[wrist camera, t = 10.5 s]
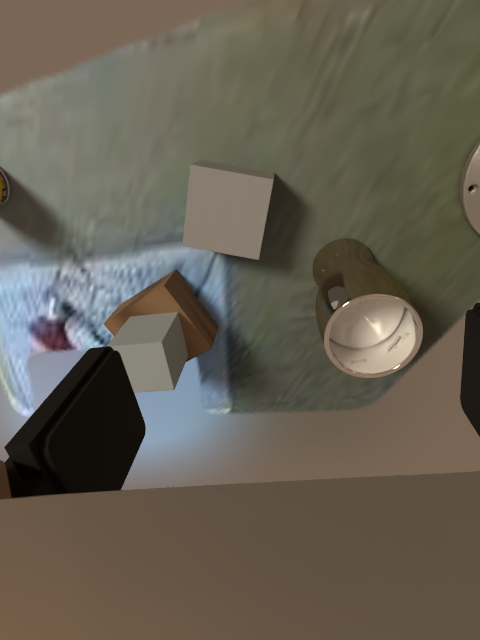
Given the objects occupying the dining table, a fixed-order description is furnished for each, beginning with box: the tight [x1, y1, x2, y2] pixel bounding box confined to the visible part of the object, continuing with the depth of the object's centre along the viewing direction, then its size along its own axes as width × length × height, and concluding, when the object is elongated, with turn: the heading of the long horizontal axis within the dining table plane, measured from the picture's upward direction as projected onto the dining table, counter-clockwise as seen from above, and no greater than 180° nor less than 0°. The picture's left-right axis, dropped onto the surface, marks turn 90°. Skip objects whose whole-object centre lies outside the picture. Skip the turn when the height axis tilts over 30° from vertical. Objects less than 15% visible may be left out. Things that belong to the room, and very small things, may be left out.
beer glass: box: [313, 239, 423, 378], centre depth 34 cm, size 7×7×15 cm
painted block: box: [107, 312, 188, 393], centre depth 38 cm, size 5×5×6 cm
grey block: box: [183, 160, 275, 260], centre depth 37 cm, size 7×7×5 cm
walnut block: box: [103, 269, 218, 362], centre depth 43 cm, size 8×8×5 cm
